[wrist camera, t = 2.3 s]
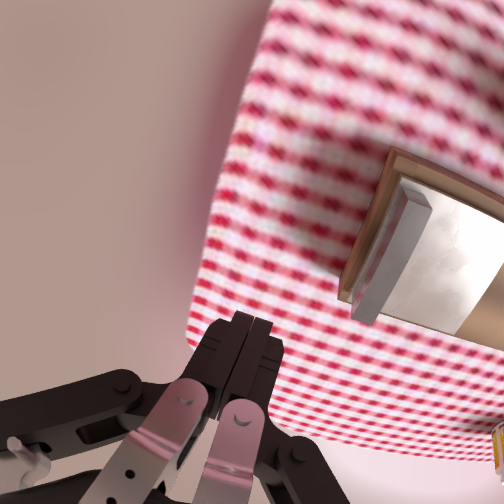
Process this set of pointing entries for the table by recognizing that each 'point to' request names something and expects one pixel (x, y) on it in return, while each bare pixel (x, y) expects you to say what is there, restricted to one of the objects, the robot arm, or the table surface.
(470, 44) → the table surface
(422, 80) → the table surface
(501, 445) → the supplement bottle
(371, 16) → the table surface
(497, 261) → the shutter lid
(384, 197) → the socket board
